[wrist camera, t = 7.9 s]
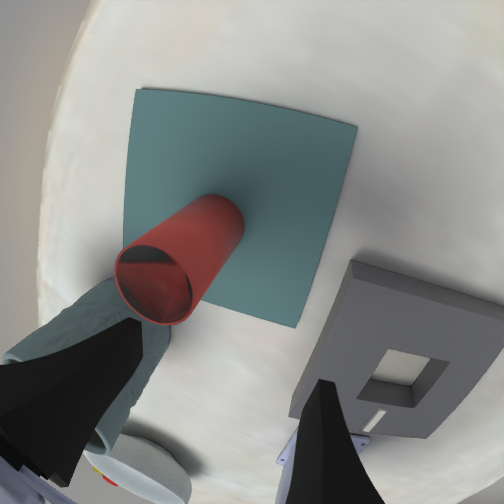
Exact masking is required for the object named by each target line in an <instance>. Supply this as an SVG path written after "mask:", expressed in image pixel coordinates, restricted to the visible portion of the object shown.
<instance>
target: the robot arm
mask: <svg viewBox="0 0 504 504" xmlns="http://www.w3.org/2000/svg"><path fill="white" fill-rule="evenodd" d="M142 358H143V341H142V322H141V321H138V320H136V319H133V318H131V317H128V318H126V319H124V320H122V321H120V322H118V323H116V324H114V325H112V326H111V327H109V328H107V329H105V330H103V331H101V332H99V333H97V334H95V335H93V336H91V337H89V338H87V339H85V340H83V341H81V342H79V343H77V344H74V345H72V346H70V347H68V348H65V349H63V350H60V351H58V352H55V353H52V354H49V355H46V356H43V357H39V358H35V359H31V360H27V361H23V362H18V363H12V364H4V365H0V504H45V500H44V498H45V499H46V500H48V501H49V502H50V503H52V504H77V503H75V502H74V501H72V500H71V499H69V498H68V497H66V496H65V495H63V494H62V493H60V492H59V491H57V490H56V489H55V488H53V487H52V486H50V485H49V484H48V483H46V482H45V481H44V480H42V479H41V478H40V476H42V477H43V478H45V479H46V480H48V479H50V480H51V481H52V482H54V483H55V484H57V485H58V486H59V487H68V486H69V484H70V481H71V478H72V476H73V473H74V471H75V468H76V466H77V463H78V461H79V459H80V457H81V455H82V453H83V450H84V448H85V446H86V444H87V443H88V441H89V439H90V437H91V435H92V433H93V431H94V430H95V428H96V426H97V424H98V422H99V421H100V419H101V417H102V416H103V415H104V413H105V412H106V410H107V409H108V408H109V406H110V405H111V404H112V402H113V401H114V400H115V398H116V397H117V396H118V394H119V393H120V392H121V391H122V389H123V388H124V387H125V385H126V384H127V383H128V381H129V380H130V379H131V377H132V376H133V374H134V372H135V371H136V369H137V367H138V366H139V364H140V362H141V360H142ZM369 443H370V438H368V437H362V436H356V435H350V433H349V430H348V427H347V424H346V421H345V418H344V415H343V411H342V408H341V404H340V401H339V397H338V393H337V388H336V384H335V383H334V382H332V381H328V380H323V379H318V381H317V383H316V385H315V387H314V389H313V391H312V393H311V395H310V396H309V398H308V400H307V402H306V404H305V406H304V407H303V410H302V414H301V418H300V422H299V427H298V428H297V430H296V431H295V433H294V435H293V436H292V438H291V439H290V441H289V442H288V444H287V445H286V447H285V448H284V450H283V451H282V453H281V454H280V456H279V457H278V459H277V461H276V463H277V464H279V465H283V470H282V475H281V479H280V484H279V488H278V492H277V496H276V500H275V504H385V503H384V501H383V500H382V498H381V496H380V495H379V493H378V492H377V490H376V489H375V487H374V486H373V484H372V482H371V480H370V478H369V477H368V475H367V473H366V471H365V469H364V467H363V465H362V463H361V461H360V458H359V456H358V454H359V453H360V452H361V451H362V450H363V449H364V448H365V447H366V446H367V445H368V444H369ZM43 497H44V498H43Z"/></svg>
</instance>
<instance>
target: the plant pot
mask: <svg viewBox="0 0 504 504" xmlns="http://www.w3.org/2000/svg"><path fill="white" fill-rule="evenodd" d="M128 317H131V318H133V319H136V320H138V321H141V322H142V341H143V358H142V360H141V362H140V364H139V366H138V367H137V369H136V371H135V372H134V374H133V376H132V377H131V379H130V380H129V381H128V383H127V384H126V385H125V387H124V388H123V389H122V391H121V392H120V393H119V394H118V396H117V397H116V398H115V400H114V401H113V402H112V404H111V405H110V406H109V408H108V409H107V410H106V412H105V413H104V415H103V416H102V417H101V419H100V421H99V422H98V424H97V426H96V428H95V430H94V431H93V433H92V435H91V437H90V439H89V441H88V443H87V444H86V446H85V448H84V450H86V451H88V452H90V453H93V454H97V455H101V456H106V455H109V454H110V452H111V450H112V448H113V446H114V444H115V442H116V440H117V438H118V436H119V434H120V432H121V430H122V428H123V426H124V423H125V421H126V419H127V418H128V417H129V414H130V408H131V407H133V406H134V405H135V404H136V402H137V400H138V399H139V397H140V396H141V394H142V392H143V389H144V388H145V386H146V384H147V383H148V381H149V378H150V376H151V375H152V373H153V372H154V370H155V368H156V366H157V365H158V363H159V361H160V360H161V358H162V356H163V354H164V353H165V351H166V349H167V347H168V345H169V341H170V330H169V329H170V327H169V325H160V324H156V323H153V322H150V321H148V320H146V319H144V318H143V317H141V316H140V315H138V314H137V313H136V312H135V311H133V310H132V309H131V308H130V307H129V305H128V304H127V303H126V302H125V300H124V299H123V297H122V296H121V294H120V292H119V290H118V287H117V284H116V281H115V279H109V280H105V281H103V282H101V283H99V284H98V285H96V286H95V287H93V288H92V289H90V290H89V291H88V292H87V293H85V294H84V295H83V296H82V297H80V298H79V299H78V300H77V301H76V302H75V303H74V304H73V305H72V306H71V307H68V308H66V309H64V310H62V311H61V313H60V314H59V315H58V316H56V317H55V318H53V319H52V320H51V321H50V322H49V323H47V324H46V325H44V326H42V327H40V328H39V329H38V330H36V331H34V332H33V333H31V334H30V335H29V336H27V337H26V338H24V339H23V340H22V341H21V342H19V343H18V344H16V345H15V346H14V347H12V348H11V349H10V350H9V351H7V352H6V353H5V354H4V356H3V365H4V364H12V363H18V362H23V361H27V360H31V359H35V358H39V357H43V356H46V355H49V354H52V353H55V352H58V351H60V350H63V349H65V348H68V347H70V346H72V345H74V344H77V343H79V342H81V341H83V340H85V339H87V338H89V337H91V336H93V335H95V334H97V333H99V332H101V331H103V330H105V329H107V328H109V327H111V326H112V325H114V324H116V323H118V322H120V321H122V320H124V319H126V318H128Z"/></svg>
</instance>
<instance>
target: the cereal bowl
mask: <svg viewBox="0 0 504 504" xmlns="http://www.w3.org/2000/svg"><path fill="white" fill-rule="evenodd" d="M85 456H86V457H87V459H88V460H89V462H90V463H91V464H92V465H93V466H94V467H95V468H96V469H97V470H98V471H100V472H101V473H102V474H103V475H105V476H106V477H107V478H109V479H110V480H112V481H113V482H115V483H116V484H118V485H119V486H121V487H123V488H124V489H126V490H128V491H130V492H132V493H134V494H136V495H138V496H140V497H142V498H144V499H146V500H149V501H151V502H154V503H157V504H188V501H189V499H190V497H191V492H192V485H191V482H190V479H189V476H188V475H187V473H186V472H185V470H184V469H183V468H182V467H181V466H180V465H179V464H178V463H177V462H176V461H175V459H174V458H173V456H172V455H171V454H170V453H169V452H167V451H166V450H165V449H163V448H162V447H160V446H159V445H157V444H155V443H153V442H151V441H149V440H147V439H144V438H141V437H131V436H128V435H124V434H119V436H118V438H117V440H116V442H115V444H114V446H113V448H112V450H111V452H110V454H109V455H106V456H101V455H97V454H93V453H90V452H88V451H86V450H85Z"/></svg>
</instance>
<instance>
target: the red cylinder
mask: <svg viewBox="0 0 504 504" xmlns="http://www.w3.org/2000/svg"><path fill="white" fill-rule="evenodd" d="M243 234H244V220H243V216H242V214H241V212H240V210H239V209H238V207H237V206H236V205H235V204H234V203H233V202H232V201H230V200H229V199H227V198H225V197H223V196H220V195H215V194H208V195H204V196H201V197H199V198H197V199H196V200H194V201H193V202H191V203H189V204H188V205H186V206H185V207H183V208H182V209H180V210H179V211H177V212H176V213H174V214H173V215H171V216H170V217H168V218H167V219H165V220H164V221H163V222H161V223H160V224H158V225H157V226H155V227H154V228H152V229H151V230H149V231H148V232H147V233H145V234H144V235H142V236H141V237H140V238H138V239H137V240H135V241H134V242H132V243H131V244H130V245H128V246H127V247H126V248H124V249H123V250H122V251H121V252H120V254H119V255H118V257H117V259H116V262H115V268H114V274H115V281H116V284H117V287H118V290H119V292H120V294H121V296H122V297H123V299H124V300H125V302H126V303H127V304H128V305H129V307H130V308H131V309H132V310H133V311H135V312H136V313H137V314H138V315H140V316H141V317H143V318H144V319H146V320H148V321H150V322H153V323H156V324H160V325H175V324H178V323H181V322H183V321H184V320H186V319H187V318H188V317H189V316H190V314H191V313H192V311H193V310H194V308H195V307H196V306H197V304H198V303H199V301H200V300H201V298H202V297H203V295H204V294H205V292H206V291H207V289H208V288H209V287H210V285H211V284H212V282H213V281H214V279H215V278H216V276H217V275H218V273H219V272H220V270H221V269H222V268H223V266H224V265H225V263H226V262H227V260H228V259H229V257H230V256H231V255H232V253H233V252H234V250H235V249H236V247H237V246H238V244H239V243H240V241H241V240H242V237H243Z"/></svg>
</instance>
